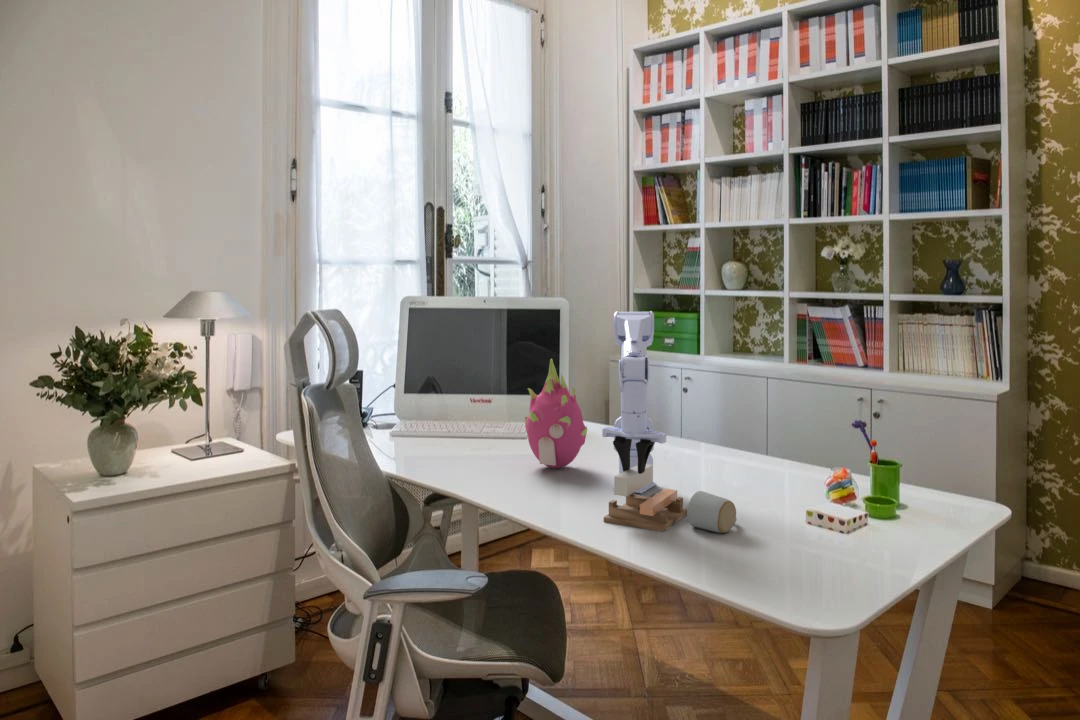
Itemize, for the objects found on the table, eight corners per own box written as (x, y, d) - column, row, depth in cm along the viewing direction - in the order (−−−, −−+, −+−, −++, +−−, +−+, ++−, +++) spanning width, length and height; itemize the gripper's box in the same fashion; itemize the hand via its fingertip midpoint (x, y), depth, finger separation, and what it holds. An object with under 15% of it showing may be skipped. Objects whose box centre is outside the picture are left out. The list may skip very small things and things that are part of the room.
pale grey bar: (640, 480, 187) (640, 463, 187) (652, 482, 186) (652, 465, 185) (614, 494, 175) (614, 476, 175) (626, 496, 174) (626, 478, 173)
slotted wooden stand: (630, 504, 189) (630, 487, 189) (687, 513, 182) (687, 496, 181) (603, 521, 177) (603, 503, 177) (663, 531, 170) (663, 513, 170)
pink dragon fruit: (516, 471, 220) (514, 361, 216) (532, 460, 232) (531, 356, 229) (579, 476, 214) (579, 363, 210) (593, 464, 227) (592, 357, 223)
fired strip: (664, 497, 184) (664, 488, 184) (677, 498, 183) (677, 490, 183) (639, 513, 172) (639, 504, 172) (652, 516, 171) (652, 506, 171)
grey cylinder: (720, 538, 166) (721, 501, 165) (685, 529, 171) (686, 494, 170) (745, 526, 173) (746, 491, 172) (712, 518, 179) (712, 484, 178)
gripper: (596, 411, 178) (596, 471, 180) (657, 417, 171) (657, 479, 173) (610, 406, 184) (610, 464, 186) (670, 411, 177) (669, 472, 179)
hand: (633, 471), depth 180 cm, fingers closed on pale grey bar, 3 cm apart
